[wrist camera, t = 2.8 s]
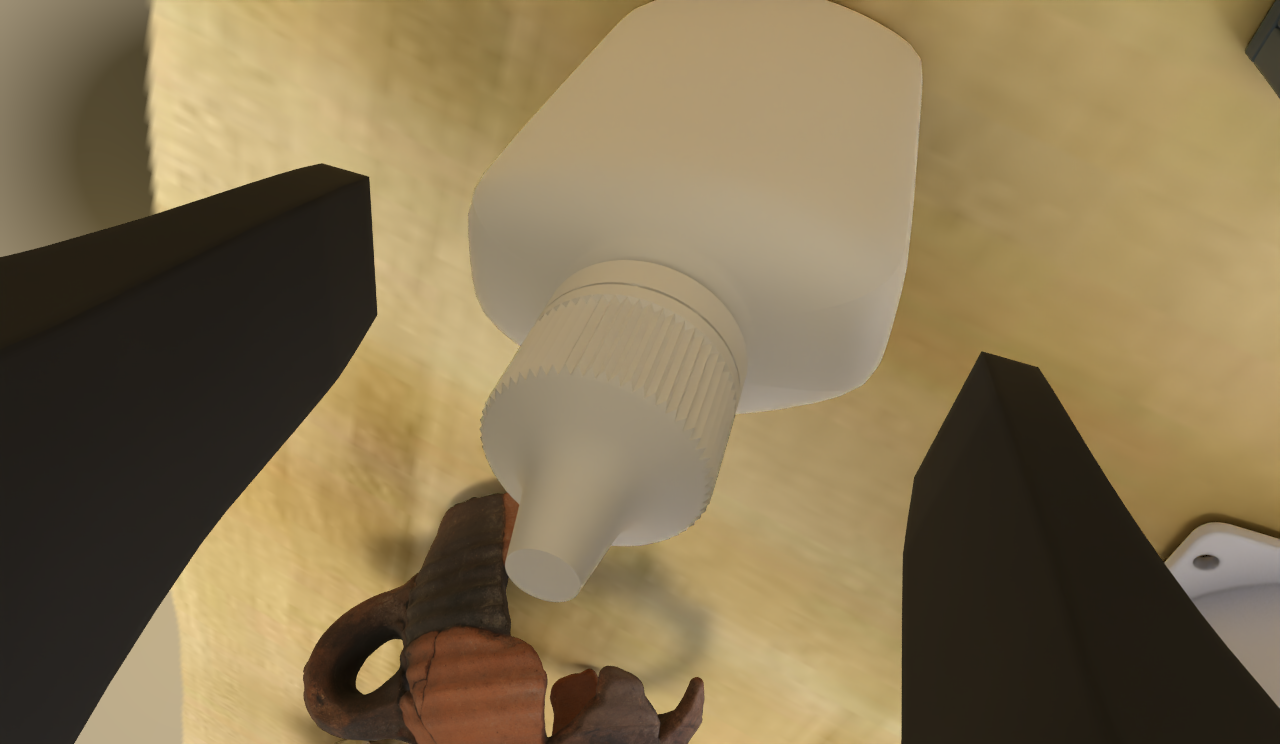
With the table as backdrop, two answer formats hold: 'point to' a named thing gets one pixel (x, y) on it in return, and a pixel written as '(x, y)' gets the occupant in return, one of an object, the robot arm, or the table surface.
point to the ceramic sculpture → (352, 742)
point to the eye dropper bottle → (686, 260)
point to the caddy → (1268, 48)
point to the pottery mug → (473, 660)
